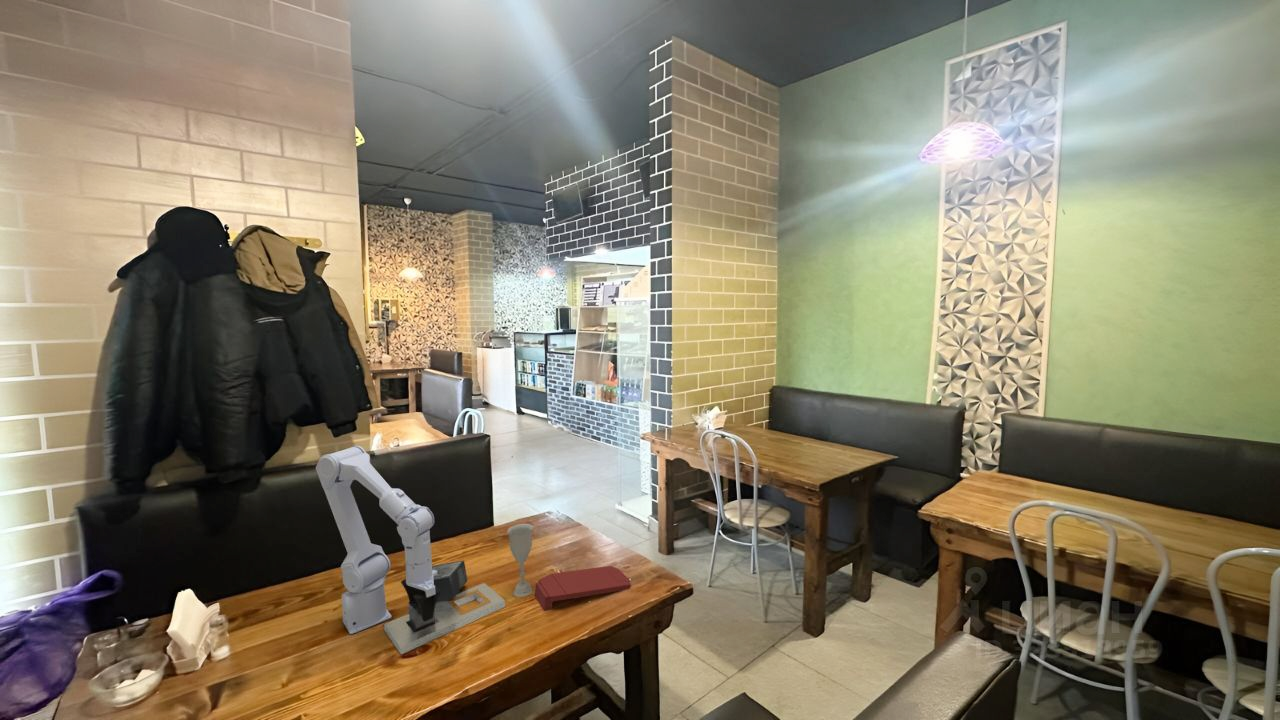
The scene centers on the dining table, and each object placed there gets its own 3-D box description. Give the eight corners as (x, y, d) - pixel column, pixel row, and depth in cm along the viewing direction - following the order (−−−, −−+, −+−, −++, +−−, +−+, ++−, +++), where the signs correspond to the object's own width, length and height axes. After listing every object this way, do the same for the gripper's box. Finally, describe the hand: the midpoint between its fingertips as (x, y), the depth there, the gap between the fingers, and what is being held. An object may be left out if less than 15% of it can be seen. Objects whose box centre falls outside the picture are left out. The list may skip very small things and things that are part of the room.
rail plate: (400, 654, 111) (400, 646, 111) (384, 630, 120) (384, 623, 120) (505, 606, 129) (504, 599, 129) (484, 589, 138) (484, 582, 138)
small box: (431, 588, 139) (414, 607, 129) (427, 566, 140) (410, 582, 129) (468, 582, 139) (453, 600, 129) (464, 559, 139) (449, 575, 129)
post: (416, 637, 117) (414, 609, 117) (410, 629, 121) (408, 602, 120) (435, 629, 120) (433, 602, 120) (428, 621, 124) (427, 594, 123)
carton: (612, 581, 148) (532, 593, 136) (614, 565, 148) (534, 575, 136) (631, 601, 137) (546, 615, 125) (633, 583, 137) (548, 596, 125)
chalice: (528, 600, 132) (526, 535, 130) (505, 597, 133) (502, 534, 132) (539, 585, 139) (537, 524, 137) (517, 583, 140) (514, 522, 139)
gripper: (446, 563, 116) (450, 618, 118) (424, 544, 127) (427, 594, 128) (416, 575, 112) (419, 631, 113) (395, 553, 122) (399, 605, 123)
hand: (422, 612), depth 120 cm, fingers open, 7 cm apart
